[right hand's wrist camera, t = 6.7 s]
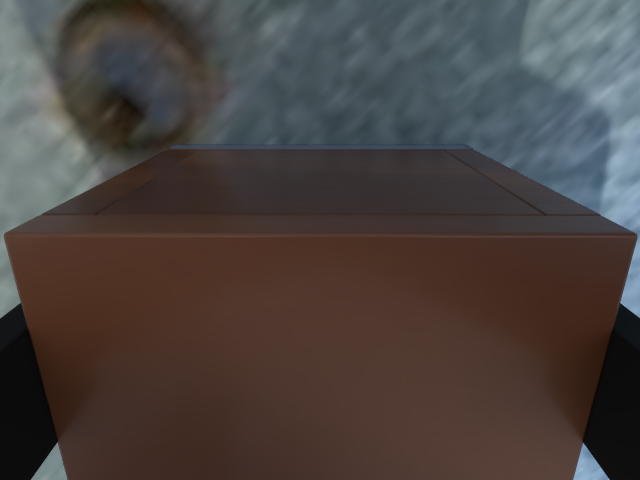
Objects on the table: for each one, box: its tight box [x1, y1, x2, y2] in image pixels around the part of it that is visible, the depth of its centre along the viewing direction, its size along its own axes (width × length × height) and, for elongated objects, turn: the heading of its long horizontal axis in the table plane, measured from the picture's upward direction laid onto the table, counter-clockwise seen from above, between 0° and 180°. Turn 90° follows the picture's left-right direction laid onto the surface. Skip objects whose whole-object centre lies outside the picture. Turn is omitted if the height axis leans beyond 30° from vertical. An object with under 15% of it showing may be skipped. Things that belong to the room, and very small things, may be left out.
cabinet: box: [4, 145, 637, 480], centre depth 15 cm, size 17×11×10 cm, turn 0°
